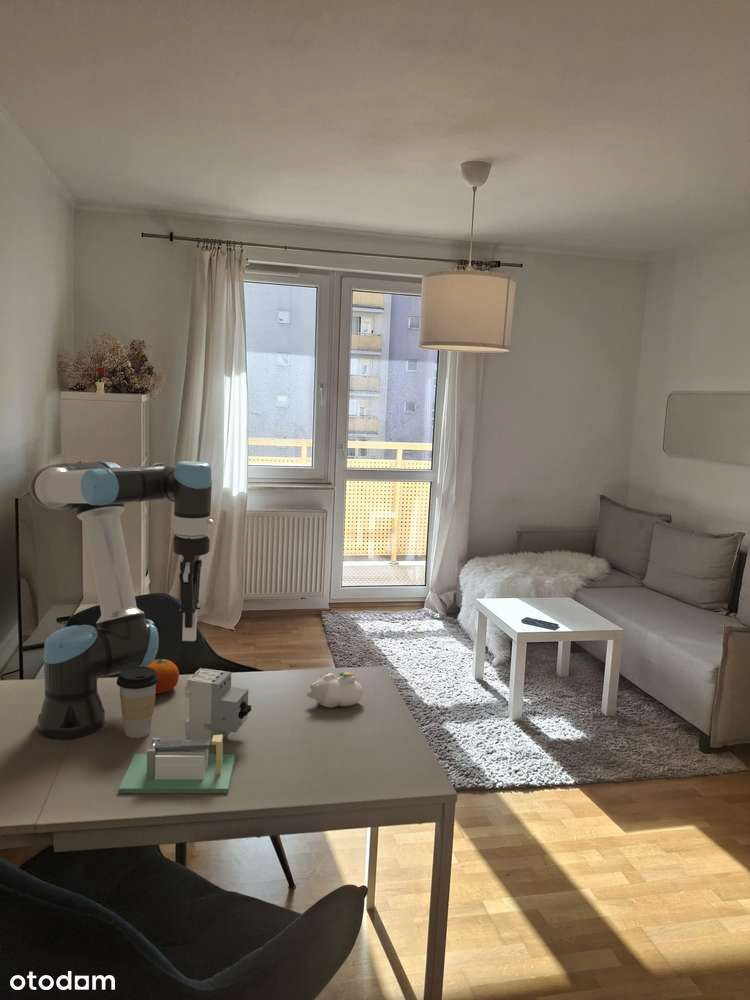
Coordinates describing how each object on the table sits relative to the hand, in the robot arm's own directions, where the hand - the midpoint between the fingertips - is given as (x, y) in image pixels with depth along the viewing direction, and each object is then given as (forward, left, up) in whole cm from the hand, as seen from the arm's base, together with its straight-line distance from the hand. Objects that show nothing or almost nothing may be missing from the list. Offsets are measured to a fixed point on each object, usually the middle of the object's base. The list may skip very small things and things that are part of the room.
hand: (189, 639), depth 160 cm
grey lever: (+3, -6, -22) cm, 23 cm away
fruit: (-30, +25, -28) cm, 48 cm away
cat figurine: (+15, +42, -28) cm, 52 cm away
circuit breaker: (0, +12, -28) cm, 30 cm away
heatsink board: (+3, -6, -28) cm, 29 cm away
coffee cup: (-18, +4, -28) cm, 33 cm away
